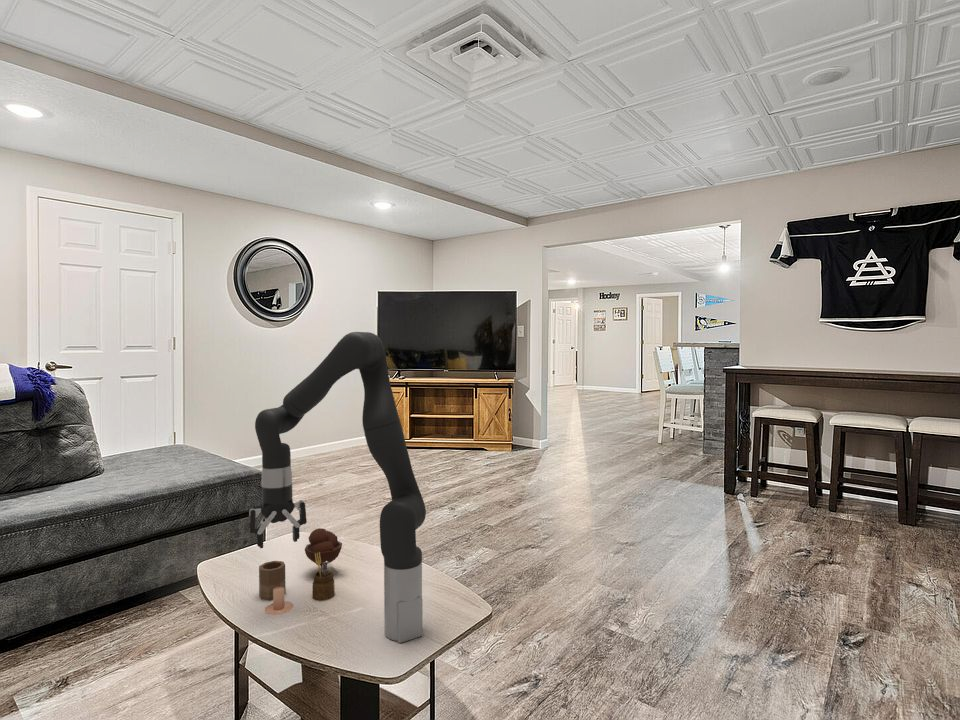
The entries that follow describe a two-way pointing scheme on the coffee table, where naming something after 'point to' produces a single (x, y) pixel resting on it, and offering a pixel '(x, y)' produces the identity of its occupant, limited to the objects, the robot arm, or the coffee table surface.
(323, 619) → the coffee table surface
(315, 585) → the utensil holder
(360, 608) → the coffee table surface
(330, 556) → the ice cream bowl
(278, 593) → the lid
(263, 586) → the canister
